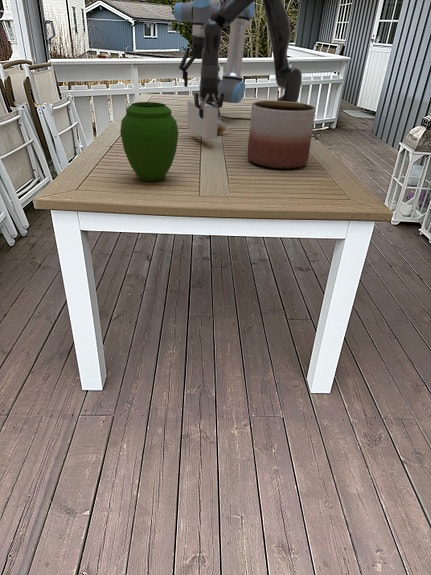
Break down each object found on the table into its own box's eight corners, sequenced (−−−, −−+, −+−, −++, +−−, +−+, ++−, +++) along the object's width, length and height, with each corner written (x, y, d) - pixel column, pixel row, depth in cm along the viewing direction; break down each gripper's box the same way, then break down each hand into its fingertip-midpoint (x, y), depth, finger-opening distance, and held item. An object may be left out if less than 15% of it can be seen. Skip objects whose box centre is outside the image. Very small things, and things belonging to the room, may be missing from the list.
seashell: (224, 133, 216) (225, 117, 212) (226, 135, 212) (227, 119, 207) (206, 132, 215) (207, 116, 211) (208, 135, 210) (208, 118, 206)
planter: (316, 170, 164) (326, 111, 152) (255, 170, 160) (260, 110, 148) (295, 154, 185) (303, 101, 173) (241, 154, 181) (245, 99, 169)
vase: (131, 189, 135) (125, 110, 122) (118, 172, 150) (112, 100, 137) (186, 184, 142) (187, 109, 129) (169, 168, 157) (167, 99, 144)
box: (187, 128, 203) (187, 100, 197) (198, 127, 205) (198, 100, 199) (205, 139, 184) (205, 108, 178) (216, 138, 186) (218, 108, 180)
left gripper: (177, 34, 183) (176, 87, 193) (228, 38, 191) (225, 88, 202) (172, 34, 188) (172, 85, 199) (222, 38, 197) (219, 86, 208)
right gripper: (196, 77, 170) (196, 120, 179) (228, 77, 175) (226, 119, 184) (190, 75, 176) (190, 116, 185) (221, 75, 181) (219, 116, 190)
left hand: (198, 87), depth 201 cm, fingers open, 13 cm apart
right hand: (208, 117), depth 184 cm, fingers closed on box, 5 cm apart
